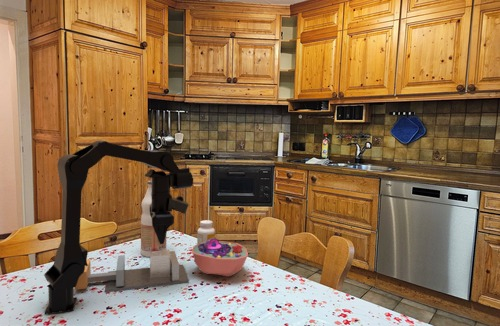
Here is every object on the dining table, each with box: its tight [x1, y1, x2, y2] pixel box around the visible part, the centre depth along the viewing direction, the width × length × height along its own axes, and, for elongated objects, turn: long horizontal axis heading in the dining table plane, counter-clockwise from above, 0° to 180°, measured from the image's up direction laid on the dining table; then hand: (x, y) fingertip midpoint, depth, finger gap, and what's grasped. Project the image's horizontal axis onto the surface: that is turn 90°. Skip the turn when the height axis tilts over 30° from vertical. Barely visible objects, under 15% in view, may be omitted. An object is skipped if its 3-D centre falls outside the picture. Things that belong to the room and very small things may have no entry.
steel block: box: [149, 249, 171, 278], centre depth 106 cm, size 4×6×7 cm, turn 109°
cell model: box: [191, 237, 249, 277], centre depth 110 cm, size 17×20×11 cm
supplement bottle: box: [196, 219, 216, 245], centre depth 127 cm, size 7×7×13 cm
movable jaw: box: [74, 255, 126, 291], centre depth 100 cm, size 12×13×5 cm
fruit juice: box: [140, 179, 168, 258], centre depth 126 cm, size 9×9×28 cm
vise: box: [104, 250, 190, 293], centre depth 105 cm, size 13×24×6 cm, turn 109°
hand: (160, 239), depth 105 cm, fingers open, 9 cm apart
